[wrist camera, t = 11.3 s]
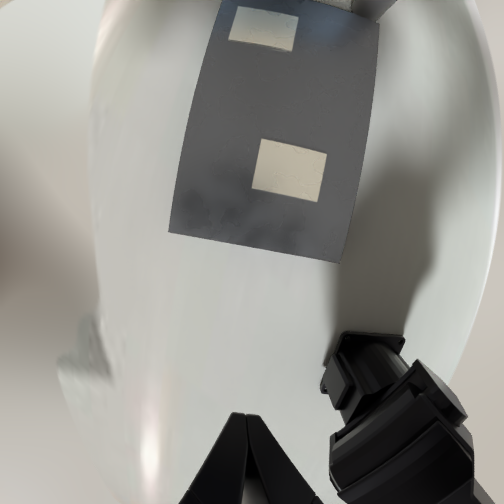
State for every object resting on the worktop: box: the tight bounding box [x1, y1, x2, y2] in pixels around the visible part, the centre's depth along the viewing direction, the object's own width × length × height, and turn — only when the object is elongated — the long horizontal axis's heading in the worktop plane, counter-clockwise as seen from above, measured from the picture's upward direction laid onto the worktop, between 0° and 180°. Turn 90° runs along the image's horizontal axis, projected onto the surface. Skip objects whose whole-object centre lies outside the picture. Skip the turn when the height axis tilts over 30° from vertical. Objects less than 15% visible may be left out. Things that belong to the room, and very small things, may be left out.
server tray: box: [168, 0, 379, 263], centre depth 16 cm, size 11×18×2 cm, turn 169°
